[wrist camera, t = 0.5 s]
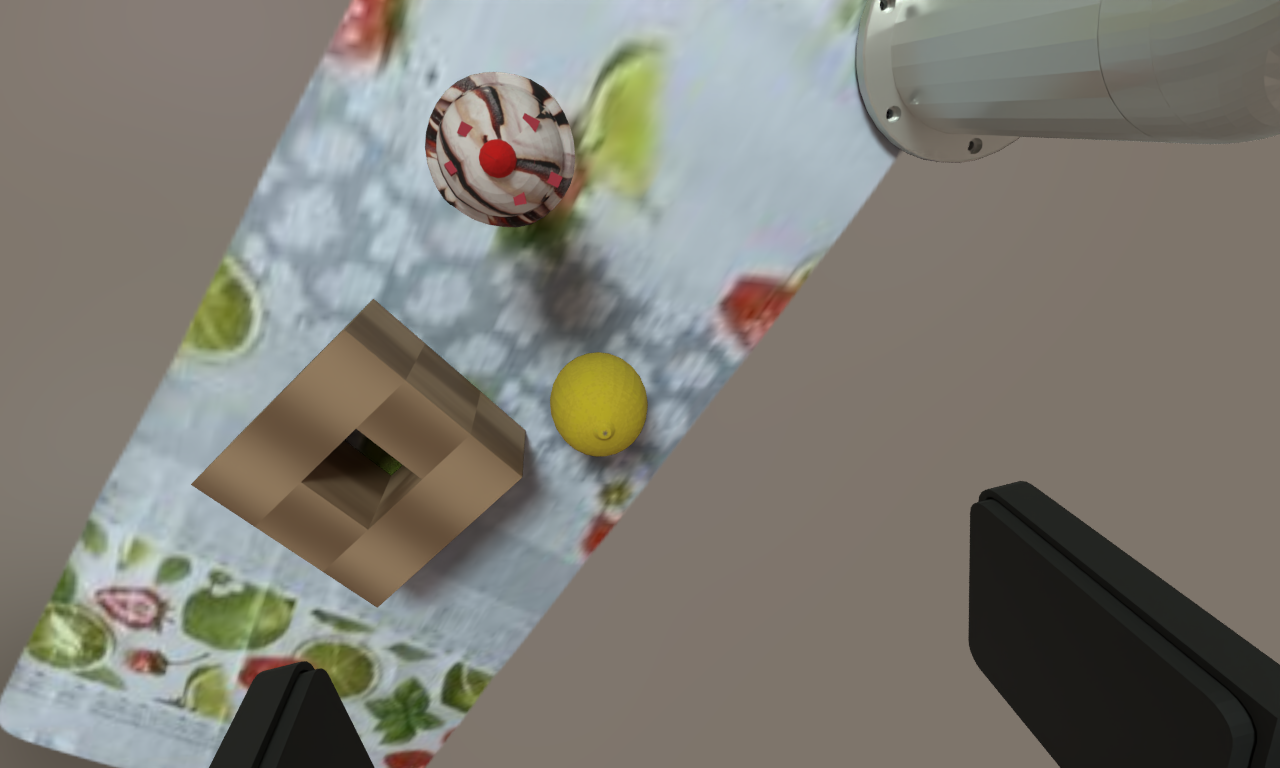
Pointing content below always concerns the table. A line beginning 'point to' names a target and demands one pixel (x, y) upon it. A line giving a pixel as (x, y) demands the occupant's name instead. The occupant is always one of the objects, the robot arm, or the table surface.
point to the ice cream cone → (500, 149)
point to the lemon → (598, 404)
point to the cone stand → (350, 482)
